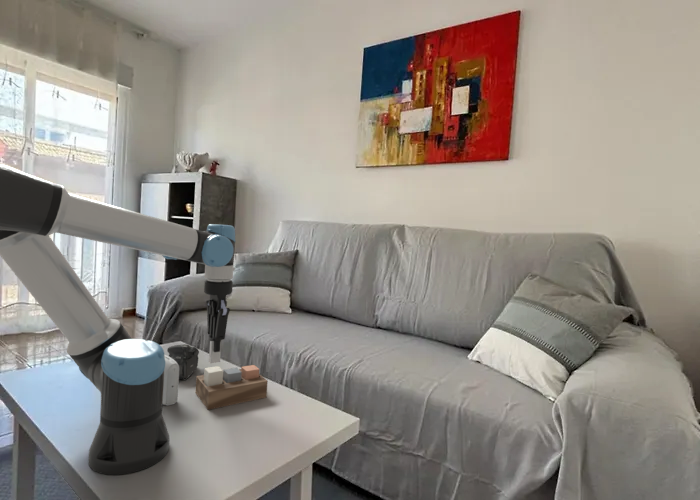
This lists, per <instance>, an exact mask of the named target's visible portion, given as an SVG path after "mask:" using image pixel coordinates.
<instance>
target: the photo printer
mask: <svg viewBox="0 0 700 500" xmlns="http://www.w3.org/2000/svg"><path fill="white" fill-rule="evenodd" d="M164 358H165V369H164V386H163V404H162V406H163V405H164V406H171V405H174V404H176V403H177V401H178V397H179V396H178V395H179V381H180V379H179V365H178V364H177V362H176V361H175V360H174V359H172V358H171V357H169V355H168V354H167V355H166V354H164Z"/></svg>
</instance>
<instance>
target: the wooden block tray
mask: <svg viewBox="0 0 700 500" xmlns="http://www.w3.org/2000/svg"><path fill="white" fill-rule="evenodd" d="M238 369H239V370H240V371H241V368H238ZM195 394H196V396H197V397H198V398H199V399H200V401H201V403H202V405H204V407H205V408H206V409H207V411H208V410H214V409H217V408H223V407H227V406H232V405H237V404H241V403H247V402H252V401H257V400H261V399H264V398H265V399H266V398H267V396H268V379H266V378H265V377H264V376H263V375H261V374H260V373H259V377H258V378H253V379H247V380H245V379H244V378H243V377H242V376H241V381H236V382H230V383H226V382H225V381H224V380H223V382H222V384H219V385H213V386H208V387H207V386H206V385H205V384H204V374H202V375H201V374H200V375H196V377H195Z"/></svg>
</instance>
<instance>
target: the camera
mask: <svg viewBox="0 0 700 500" xmlns="http://www.w3.org/2000/svg"><path fill="white" fill-rule="evenodd" d="M166 349H167V353H168V356H169V357H171V358H172V359H174V360H175V361H176V362H177V364H178V365H179V380H187V379H188V378H189V377H190V376H191V375H193V374H194V373H195V371H197V368H198V366H199V354H200V351H199V349H198V348H197V347H196V346H191V345H190V344H188V343H187V344H186V343H185V344H176V345H175V344H174V345H171V346H169V347H167V348H166Z"/></svg>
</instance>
